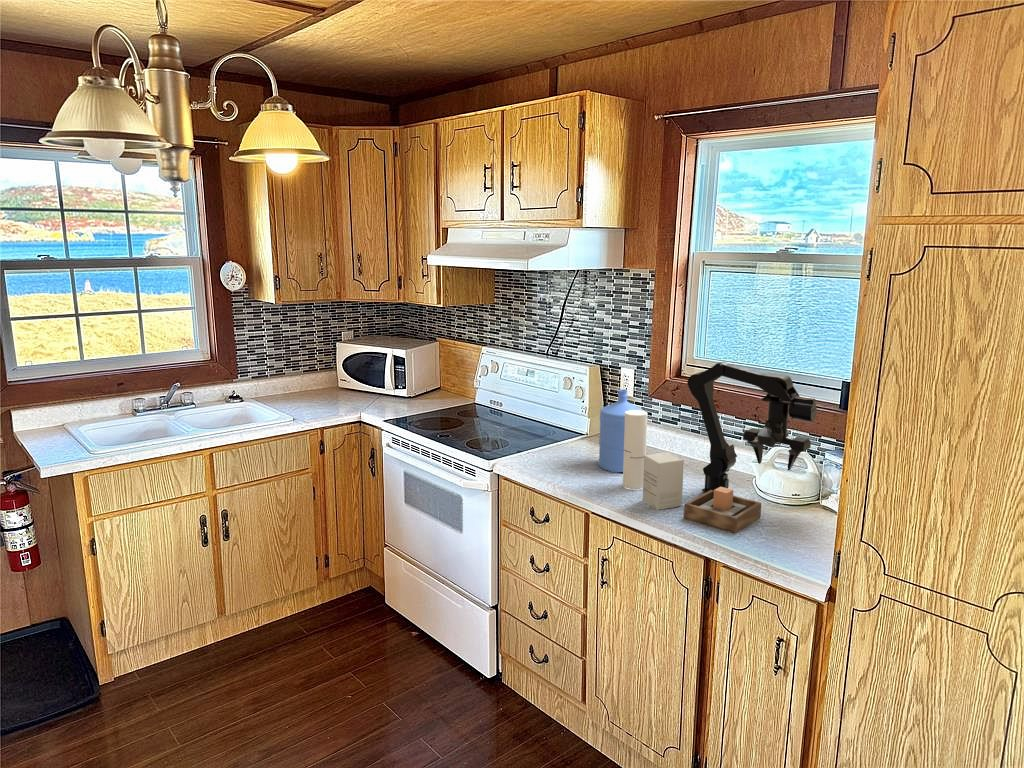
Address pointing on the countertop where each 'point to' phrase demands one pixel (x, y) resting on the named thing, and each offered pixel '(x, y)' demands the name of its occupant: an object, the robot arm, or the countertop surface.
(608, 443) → the water jug
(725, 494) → the block
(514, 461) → the countertop surface
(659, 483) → the supplement box
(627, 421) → the cylindrical container
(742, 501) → the tray
